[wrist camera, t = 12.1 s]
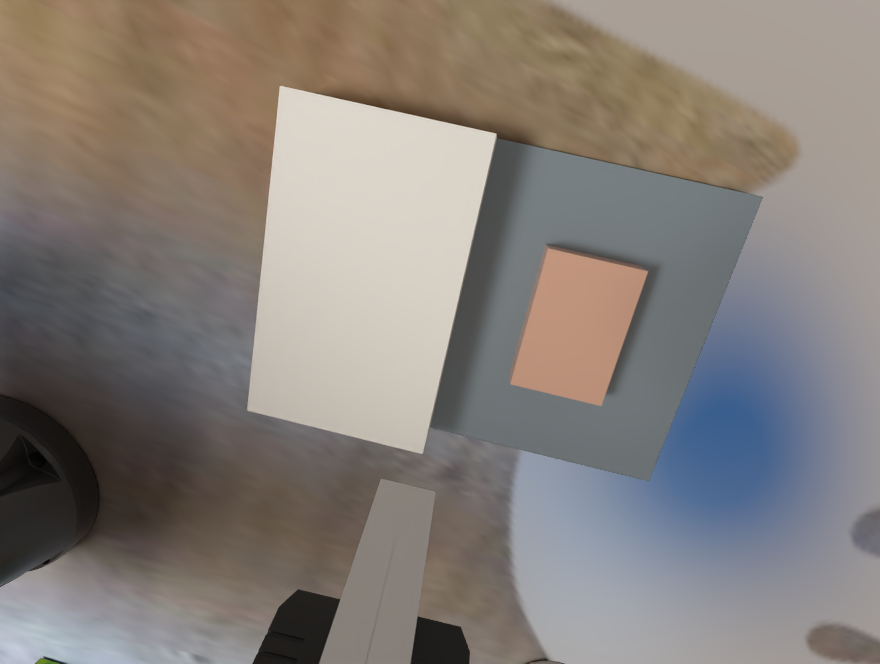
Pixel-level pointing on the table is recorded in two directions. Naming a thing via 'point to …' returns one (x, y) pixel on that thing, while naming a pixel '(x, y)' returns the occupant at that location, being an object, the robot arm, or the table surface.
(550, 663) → the milk bottle
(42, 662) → the snack box
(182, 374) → the table surface
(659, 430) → the mat
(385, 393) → the plate
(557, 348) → the tile
